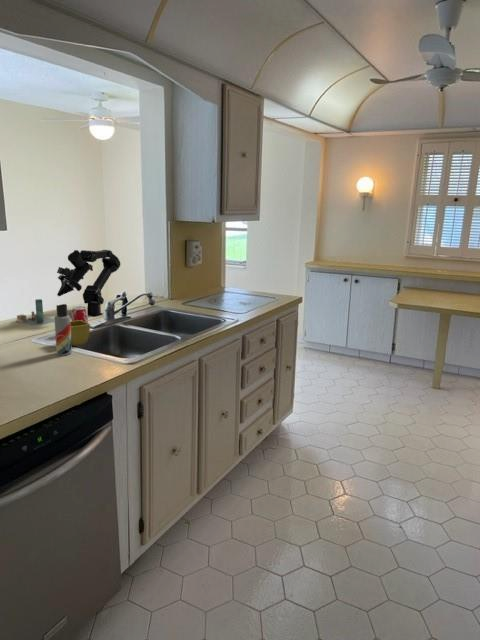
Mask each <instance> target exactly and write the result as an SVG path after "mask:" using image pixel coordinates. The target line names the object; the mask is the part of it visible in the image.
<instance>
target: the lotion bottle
mask: <svg viewBox="0 0 480 640" xmlns="http://www.w3.org/2000/svg"><path fill="white" fill-rule="evenodd" d="M55 308H56V315H55V316H54V319H55V322H54V331H55V332H54V333H55V348H56V350H55V351H56V354H57V356H60V357H62V356H69V355H71V354H72V353H73V347H72V346H73V345H72V342H71V323H70V322H71V315H69V314H68V305H67V303H62V304H58V305H56V307H55Z"/></svg>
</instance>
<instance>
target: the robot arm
mask: <svg viewBox="0 0 480 640" xmlns="http://www.w3.org/2000/svg"><path fill="white" fill-rule="evenodd" d="M99 259H101V262H102V265H103V269H102V270H101V272H100V274H99V275H98V276H97V278H96V279H95V281H94V283H93V284H92V285H90V284H89V285H86V287H85V289H84V291H83V293H82V300H83V302H84V304H86V305H87V307H86V310H87V312H88V317H89V316H91V317H97V316H102V315H104V312H102V311H101V310H102V309H101V307H102V305H103V304H104V301H105V300H104V298H103V296H102V290H103V288H104V286H105V284H106V283H107V282H108V280H109V278H110V277H111V275H112V274H113V273H115V272H117V271H118V270H119V269H120V267H121V261H120V259H119V257H118V256H117V255H115V254H114V253H113V251H112V250H110V249H102V250H95V251H94V250H80V251H79V250H78V249H77V250H76V249H73V252H71V253H69V254H68V256H67V261H68V262H70V264H71V265H72V266H73V267H74V268H68V267H64V268H63V267H61V266H58V269H57V272H56V273H57V274H59V275H58V277H57V279H58V280H59V281H60V283H61V285H60V288H59V290H58V292H57V294H56V295H57V297H61V296H63V295H66V294H67V293H71V292H72V291H75V290H76V291H78V292H80V291H81V290H82V288H83V287H82V284H80V283H79V282H80V281H81V280H84V278H85V276H86V274H87V273H88V272H89V271H91V272H93V269H94V268H93V264H91V263H95V262H96V261H97V260H99Z"/></svg>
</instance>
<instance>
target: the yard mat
mask: <svg viewBox="0 0 480 640" xmlns="http://www.w3.org/2000/svg"><path fill="white" fill-rule="evenodd" d="M43 320H44V322H43V323H37V320H28V318H27V321H26V322H22V323H21V322H17V323H18V324H23V325H27V326H28V325H29V326H33V327H40V326H44V325H48V324H51V323H55V318H52V317H47V316H43Z"/></svg>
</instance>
